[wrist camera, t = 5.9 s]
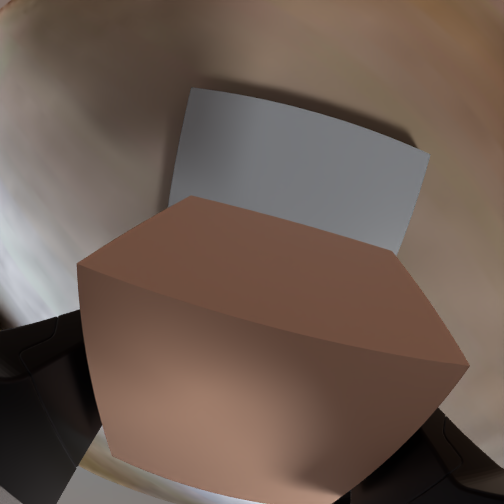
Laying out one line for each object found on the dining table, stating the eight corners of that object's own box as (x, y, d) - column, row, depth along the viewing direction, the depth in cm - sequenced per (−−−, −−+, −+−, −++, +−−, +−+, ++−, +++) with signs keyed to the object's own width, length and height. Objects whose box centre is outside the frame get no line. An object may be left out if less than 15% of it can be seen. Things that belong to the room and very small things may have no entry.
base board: (348, 339, 21) (350, 352, 19) (165, 289, 21) (157, 299, 20) (420, 153, 15) (430, 154, 14) (199, 91, 16) (191, 87, 15)
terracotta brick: (322, 392, 10) (323, 508, 6) (170, 352, 11) (112, 456, 6) (392, 250, 8) (469, 365, 3) (190, 195, 8) (76, 263, 4)
